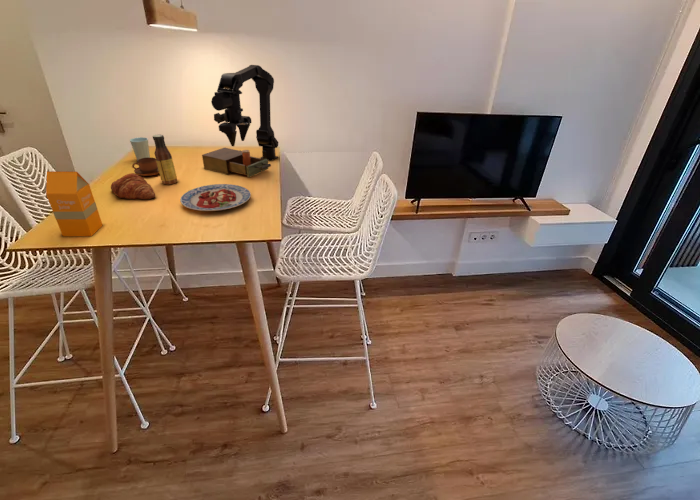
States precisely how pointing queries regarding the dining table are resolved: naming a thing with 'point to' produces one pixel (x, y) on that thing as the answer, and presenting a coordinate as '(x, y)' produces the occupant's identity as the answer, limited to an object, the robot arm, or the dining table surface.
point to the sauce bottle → (164, 161)
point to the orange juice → (72, 203)
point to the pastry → (132, 187)
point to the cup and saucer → (146, 167)
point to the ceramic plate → (215, 197)
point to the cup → (140, 147)
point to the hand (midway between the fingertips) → (238, 143)
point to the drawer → (251, 170)
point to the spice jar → (246, 157)
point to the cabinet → (220, 159)
